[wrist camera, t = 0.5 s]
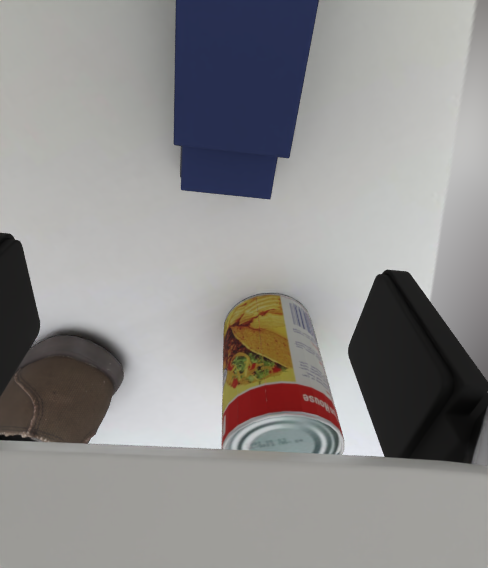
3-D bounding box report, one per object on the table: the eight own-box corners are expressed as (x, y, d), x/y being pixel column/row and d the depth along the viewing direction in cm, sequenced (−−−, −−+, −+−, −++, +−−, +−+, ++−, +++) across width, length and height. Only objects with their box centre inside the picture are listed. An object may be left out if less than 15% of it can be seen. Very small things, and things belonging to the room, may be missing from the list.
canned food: (205, 332, 34) (196, 459, 24) (265, 277, 31) (282, 396, 21) (269, 370, 37) (283, 496, 27) (329, 323, 34) (370, 447, 24)
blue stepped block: (191, -156, 17) (173, -247, 11) (320, -132, 18) (363, -206, 12) (182, 170, 26) (168, 213, 20) (269, 179, 26) (280, 224, 20)
